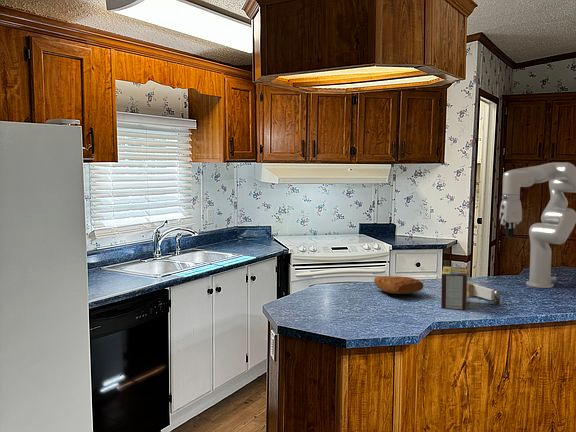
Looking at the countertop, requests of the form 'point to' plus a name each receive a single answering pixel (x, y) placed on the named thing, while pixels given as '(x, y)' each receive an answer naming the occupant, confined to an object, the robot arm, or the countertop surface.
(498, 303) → the knob on square plate
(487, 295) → the white long bar
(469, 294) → the stile
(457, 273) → the protein box
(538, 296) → the countertop surface
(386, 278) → the cuneiform tablet
